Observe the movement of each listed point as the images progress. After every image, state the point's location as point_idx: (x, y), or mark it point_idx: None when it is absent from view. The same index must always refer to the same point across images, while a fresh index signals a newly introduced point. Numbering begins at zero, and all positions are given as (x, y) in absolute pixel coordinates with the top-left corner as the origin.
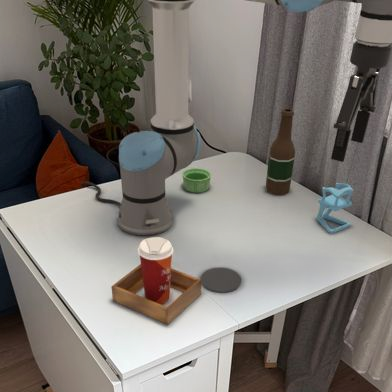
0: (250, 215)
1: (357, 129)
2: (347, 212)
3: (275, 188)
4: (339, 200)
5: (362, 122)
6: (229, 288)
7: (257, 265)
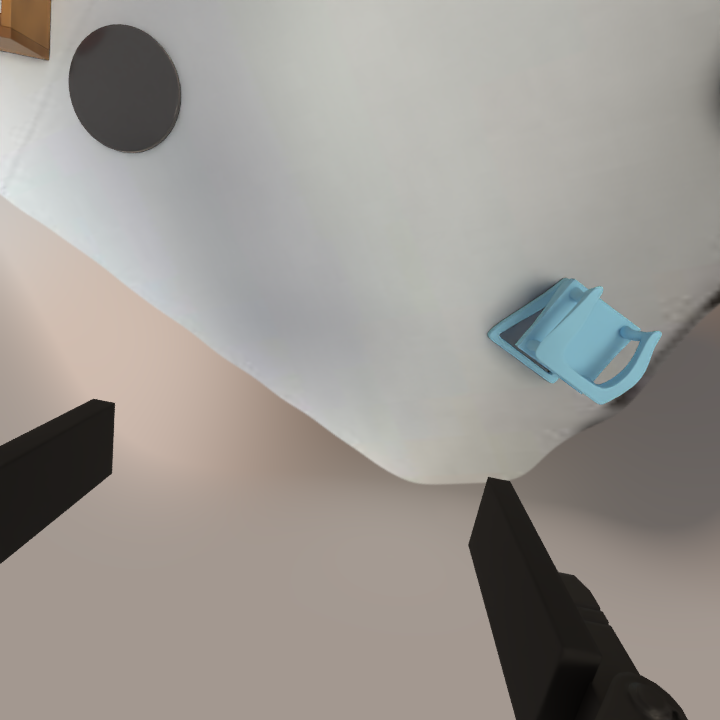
0: (526, 48)
1: (500, 554)
2: None
3: None
4: (588, 351)
5: (510, 625)
6: (95, 129)
7: (239, 169)
